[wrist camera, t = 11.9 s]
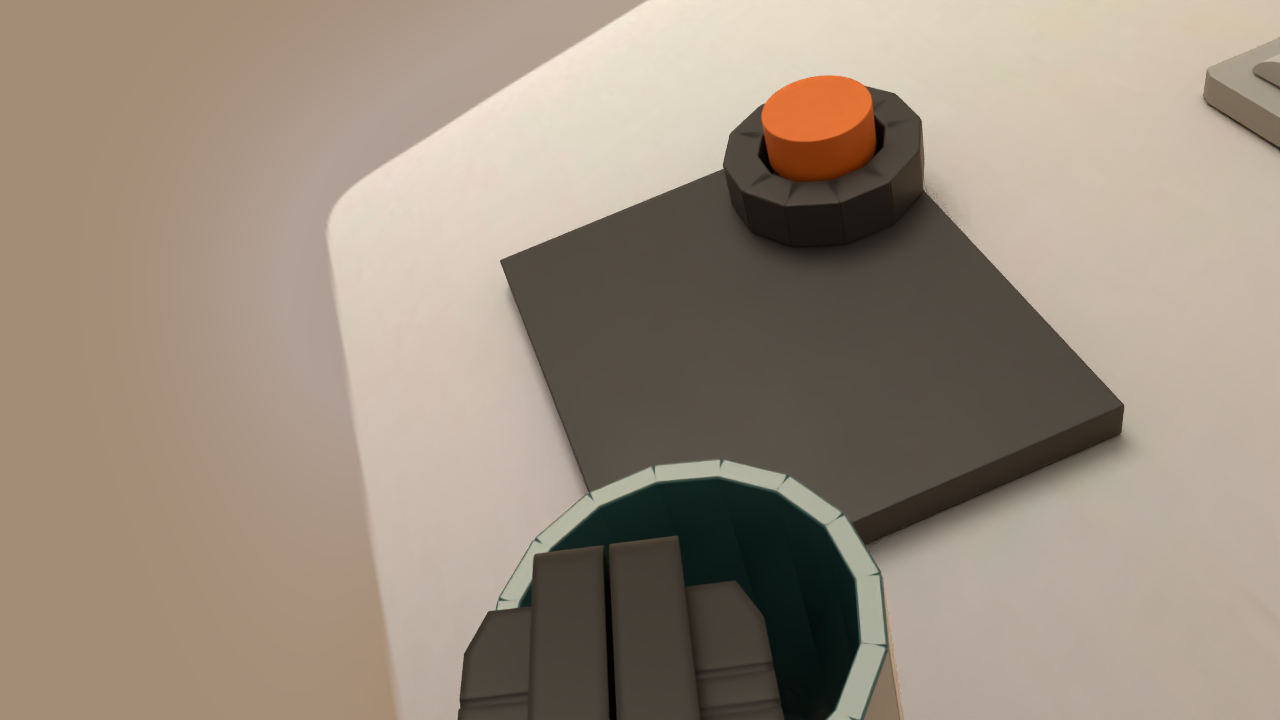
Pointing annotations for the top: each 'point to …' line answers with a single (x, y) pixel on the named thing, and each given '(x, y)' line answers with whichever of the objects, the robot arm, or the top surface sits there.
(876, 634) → the cup
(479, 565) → the top surface
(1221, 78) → the office telephone
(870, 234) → the scale
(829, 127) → the button
